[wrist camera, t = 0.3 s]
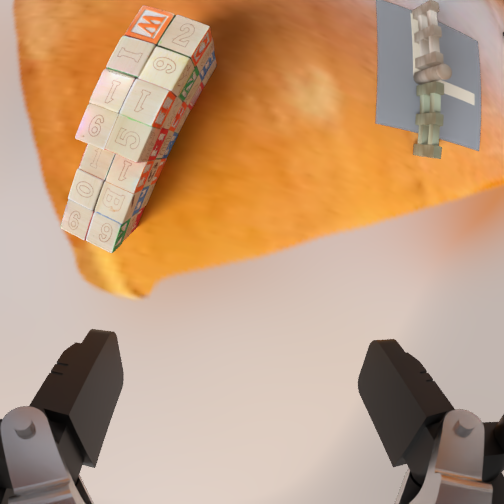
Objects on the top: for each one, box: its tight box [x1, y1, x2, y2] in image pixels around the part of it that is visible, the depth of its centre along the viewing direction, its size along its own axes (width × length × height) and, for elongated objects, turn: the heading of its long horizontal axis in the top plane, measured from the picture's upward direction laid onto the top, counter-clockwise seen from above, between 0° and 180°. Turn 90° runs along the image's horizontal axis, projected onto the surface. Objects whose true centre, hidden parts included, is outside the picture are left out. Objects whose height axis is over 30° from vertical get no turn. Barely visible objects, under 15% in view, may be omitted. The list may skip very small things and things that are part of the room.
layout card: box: [375, 0, 481, 151], centre depth 31 cm, size 18×18×1 cm
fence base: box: [412, 0, 452, 85], centre depth 26 cm, size 12×2×7 cm, turn 176°
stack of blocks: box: [61, 6, 217, 253], centre depth 27 cm, size 21×6×12 cm, turn 153°
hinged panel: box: [413, 81, 444, 159], centre depth 30 cm, size 9×1×4 cm, turn 176°
